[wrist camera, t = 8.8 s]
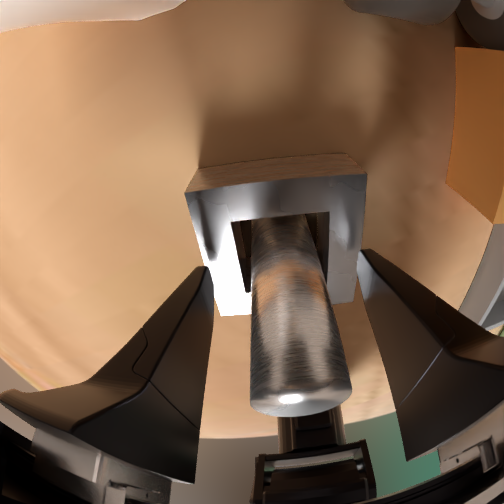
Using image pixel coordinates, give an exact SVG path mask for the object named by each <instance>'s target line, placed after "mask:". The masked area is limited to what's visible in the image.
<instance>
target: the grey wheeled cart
mask: <svg viewBox="0 0 504 504" xmlns="http://www.w3.org/2000/svg"><path fill="white" fill-rule="evenodd" d="M344 2H345V3H346V4H347V5H348V7H350V8H351V9H352V10H354V11H357V12H362V13H369V14H376V15H382V16H387V17H392V18H397V19H401V20H406V21H410V22H414V23H418V24H422V25H434V24H438V23H440V22H442V21H444V20H445V19H447V18H448V17H449V16H450V15H451V14H452V13H453V12H454V11H456V13H457V16H458V18H459V20H460V22H461V24H462V26H463V27H464V29H465V30H466V32H467V33H468V34H469V35H470V36H471V37H472V39H474V40H475V41H476V42H477V43H478V44H480V45H481V46H483V47H485V48H487V49H492V50H500V51H504V0H344Z"/></svg>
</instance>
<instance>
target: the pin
mask: <svg viewBox="0 0 504 504" xmlns="http://www.w3.org/2000/svg"><path fill="white" fill-rule="evenodd" d="M351 393H352V386H351V381H350V377H349V372H348V368H347V363H346V359H345V355H344V350H343V346H342V342H341V338H340V334H339V330H338V326H337V322H336V318H335V314H334V311H333V307H332V303H331V300H330V296H329V292H328V289H327V285H326V282H325V278H324V275H323V271H322V268H321V265H320V261H319V258H318V255H317V252H316V248H315V245H314V242H313V239H312V236H311V233H310V229H309V226H308V223H307V220H306V217H305V214H296V215H286V216H277V217H268V218H259V219H252V248H251V348H250V405H251V407H252V408H253V409H255V410H256V411H258V412H260V413H263V414H266V415H271V416H278V417H297V416H306V415H311V414H316V413H320V412H323V411H326V410H329V409H331V408H334V407H336V406H338V405H340V404H341V403H343V402H344V401H345V400H347V399H348V398H349V397H350V395H351Z"/></svg>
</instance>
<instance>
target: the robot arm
mask: <svg viewBox="0 0 504 504" xmlns="http://www.w3.org/2000/svg"><path fill="white" fill-rule="evenodd" d="M357 275H358V279H359V283H360V287H361V291H362V295H363V300H364V304H365V308H366V311H367V314H368V317H369V320H370V323H371V326H372V329H373V332H374V335H375V338H376V341H377V344H378V347H379V351H380V354H381V357H382V361H383V364H384V367H385V371H386V374H387V378H388V382H389V385H390V389H391V393H392V397H393V401H394V405H395V409H396V413H397V418H398V422H399V426H400V431H401V436H402V441H403V446H404V451H405V457H406V461H407V462H408V461H411V460H414V459H416V458H419V457H421V456H424V455H427V454H429V453H431V452H434V451H436V450H438V455H439V460H440V470H441V474H440V475H438V476H436V477H433V478H431V479H429V480H426V481H424V482H422V483H419V484H416V485H414V486H411V487H408V488H406V489H403V490H400V491H397V492H394V493H391V494H388V495H384V496H381V497H378V498H376V495H377V493H376V482H375V477H374V472H373V468H372V464H371V460H370V455H369V451H368V447H367V443H366V440H365V439H362V440H359V441H358V442H354V443H350V444H346V437H345V431H344V424H343V417H342V411H341V405H338V406H336V407H334V408H331V409H329V410H326V411H323V412H320V413H316V414H311V415H306V416H297V417H278V416H277V418H278V443H279V454H269V455H267V454H259V457H256V458H255V477H254V482H253V488H252V492H251V496H250V504H503V503H504V337H501V336H497V335H494V334H492V333H490V332H489V331H487V330H486V329H484V328H483V327H481V326H480V325H478V324H477V323H475V322H474V321H472V320H471V319H469V318H468V317H466V316H465V315H463V314H462V313H460V312H459V311H457V310H456V309H455V308H453V307H452V306H450V305H449V304H448V303H446V302H445V301H444V300H442V299H441V298H440V297H438V296H436V294H434V293H433V292H432V291H430V290H429V289H428V288H426V287H425V286H424V285H422V284H421V283H419V282H418V281H417V280H415V279H414V278H412V277H411V276H410V275H408V274H407V273H405V272H404V271H403V270H401V269H400V268H398V267H397V266H395V265H394V264H393V263H391V262H390V261H388V260H387V259H385V258H384V257H382V256H381V255H379V254H378V253H376V252H375V251H373V250H372V249H370V248H368V249H361V250H360V251H359V253H358V261H357ZM213 322H214V282H213V279H212V275H211V272H210V269H209V267H208V266H198V267H196V268H195V269H194V270H193V271H192V273H191V274H190V275H189V276H188V277H187V278H186V279H185V280H184V281H183V282H182V283H181V284H180V285H179V287H178V288H177V289H176V290H175V291H174V292H173V293H172V294H171V295H170V296H169V297H168V298H167V300H166V301H165V302H164V303H163V304H162V305H161V306H160V307H159V308H158V309H157V311H156V312H155V313H154V314H153V315H152V316H151V317H150V318H149V319H148V321H147V322H146V323H145V324H144V325H143V328H140V329H139V331H138V332H137V333H136V334H135V335H134V336H133V337H132V338H131V339H130V340H129V342H128V343H127V344H126V345H125V346H124V347H123V348H122V349H121V350H120V351H119V352H118V353H117V354H116V355H115V356H113V357H112V358H111V359H110V360H109V361H108V362H107V363H106V364H105V365H104V366H103V367H102V368H101V369H100V370H99V371H98V372H97V373H96V374H94V375H93V376H92V377H91V378H89V379H88V380H86V381H84V382H82V383H79V384H75V385H71V386H66V387H61V388H56V389H51V390H45V391H40V392H33V393H25V392H20V391H18V390H16V389H10V390H7V391H4V392H2V393H1V394H0V403H1V404H2V405H3V406H5V407H6V408H7V409H9V410H10V411H11V412H13V413H14V414H15V415H17V416H19V417H20V418H21V419H23V420H24V421H25V422H27V423H28V424H30V425H32V426H33V427H35V428H36V429H35V432H34V436H33V439H32V441H30V440H29V439H27V438H25V437H24V436H22V435H20V434H19V433H17V432H16V431H14V430H12V429H11V428H9V427H8V426H6V425H5V424H3V423H2V422H1V421H0V504H170V495H171V484H172V481H174V482H179V483H187V484H194V483H195V473H196V463H197V453H198V443H199V435H200V431H199V430H200V425H201V416H202V408H203V399H204V391H205V384H206V376H207V368H208V361H209V353H210V346H211V339H212V332H213ZM351 456H353V457H354V459H349V460H344V461H339V462H333V463H327V464H321V465H315V466H307V467H299V468H289V469H276V470H275V467H282V466H294V465H302V464H311V463H318V462H324V461H330V460H336V459H341V458H346V457H351Z"/></svg>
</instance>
